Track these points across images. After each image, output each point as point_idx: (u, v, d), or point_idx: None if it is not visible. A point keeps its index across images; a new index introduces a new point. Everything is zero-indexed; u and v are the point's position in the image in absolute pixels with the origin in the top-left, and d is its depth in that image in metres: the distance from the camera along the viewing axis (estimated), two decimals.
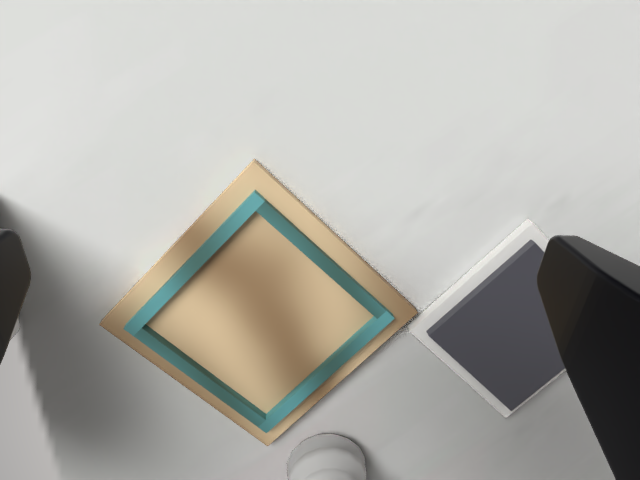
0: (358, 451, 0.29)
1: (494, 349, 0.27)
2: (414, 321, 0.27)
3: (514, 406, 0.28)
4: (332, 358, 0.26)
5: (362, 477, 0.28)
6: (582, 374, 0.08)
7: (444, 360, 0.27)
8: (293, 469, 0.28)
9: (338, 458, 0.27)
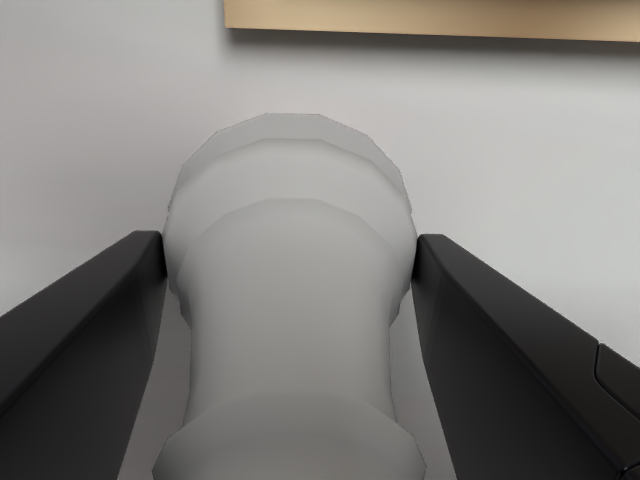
0: None
1: None
2: None
3: None
4: None
5: None
6: (435, 375, 0.08)
7: None
8: (252, 152, 0.08)
9: (401, 227, 0.08)
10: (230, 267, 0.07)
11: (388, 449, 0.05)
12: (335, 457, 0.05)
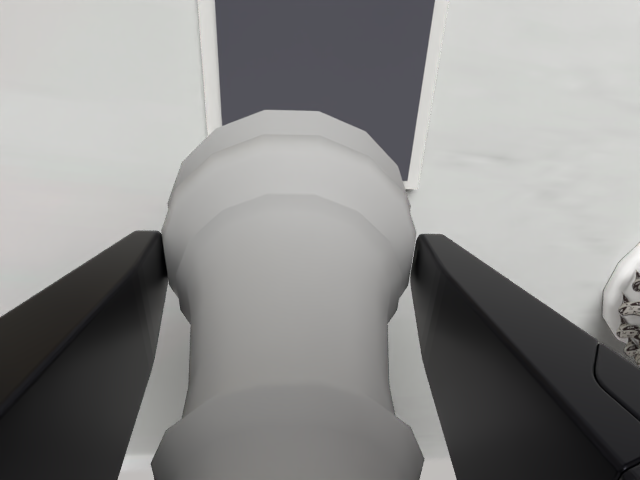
0: None
1: (273, 78, 0.17)
2: None
3: None
4: None
5: None
6: (434, 375, 0.08)
7: (203, 38, 0.17)
8: (251, 148, 0.08)
9: (399, 223, 0.08)
10: (229, 262, 0.07)
11: (386, 441, 0.05)
12: (332, 447, 0.05)
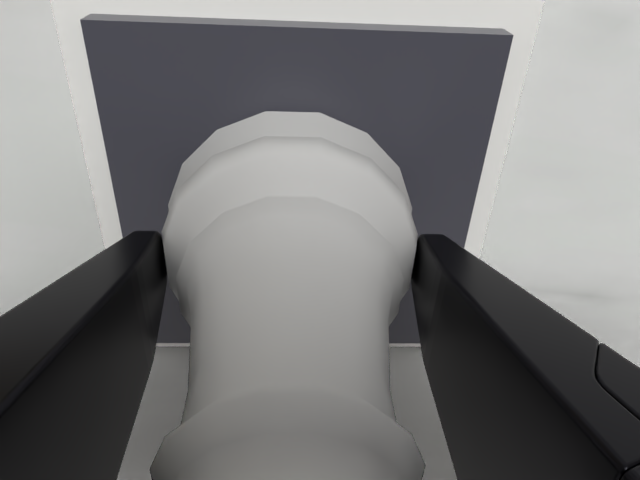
0: None
1: None
2: None
3: None
4: None
5: None
6: (435, 374, 0.08)
7: (84, 132, 0.10)
8: (251, 150, 0.08)
9: (401, 225, 0.08)
10: (229, 265, 0.07)
11: (386, 448, 0.05)
12: (332, 455, 0.04)
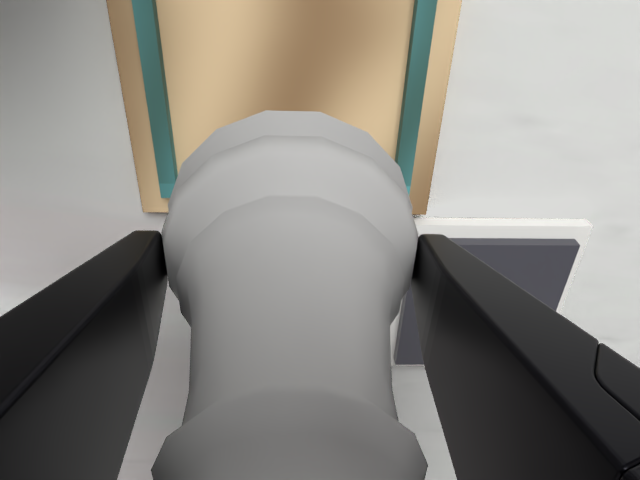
0: None
1: None
2: None
3: (402, 362, 0.25)
4: None
5: None
6: (434, 375, 0.08)
7: None
8: (252, 149, 0.08)
9: (402, 225, 0.08)
10: (230, 265, 0.07)
11: (389, 447, 0.05)
12: (335, 455, 0.04)
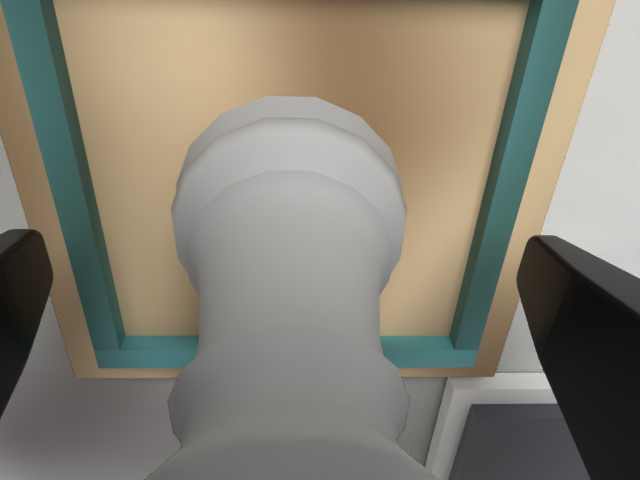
0: None
1: None
2: (466, 377, 0.15)
3: None
4: None
5: None
6: (558, 374, 0.08)
7: (441, 449, 0.16)
8: (254, 129, 0.08)
9: (391, 199, 0.09)
10: (234, 231, 0.07)
11: (375, 377, 0.06)
12: (328, 378, 0.05)
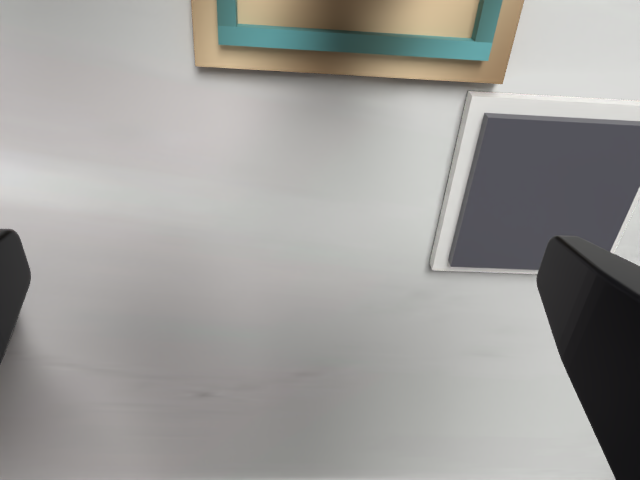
0: None
1: (513, 194, 0.21)
2: (481, 93, 0.20)
3: (458, 264, 0.23)
4: (382, 35, 0.18)
5: None
6: (582, 374, 0.08)
7: (460, 161, 0.21)
8: None
9: None
10: None
11: None
12: None
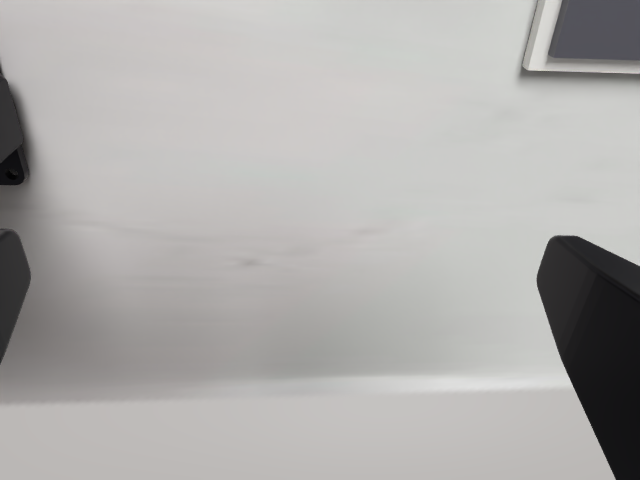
0: None
1: None
2: None
3: (562, 54, 0.19)
4: None
5: None
6: (582, 374, 0.08)
7: None
8: None
9: None
10: None
11: None
12: None
